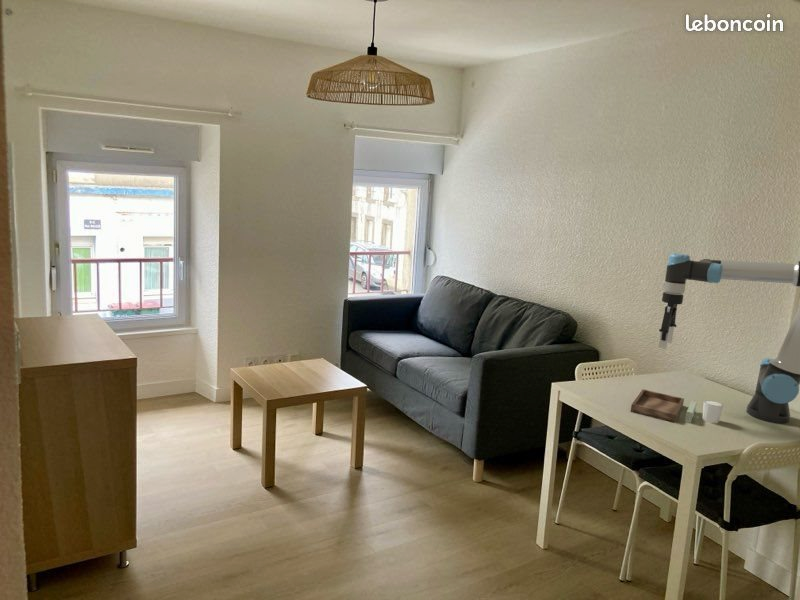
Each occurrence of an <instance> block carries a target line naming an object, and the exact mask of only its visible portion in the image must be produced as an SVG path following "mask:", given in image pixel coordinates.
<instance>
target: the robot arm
mask: <svg viewBox="0 0 800 600" xmlns="http://www.w3.org/2000/svg"><path fill="white" fill-rule="evenodd" d="M664 280H665V281H664V283H662V286H663V291H664V292H663V293H662V298H661V301H662V302H663V303H664V304H665V303H666V304H667V305H666V306H665V307H664V313H663V318H662V322H661V328H660V329H659V331H658V332H660V334H659V335H660V336H659V342H658V349H664V350H666V349H667V345H668V344H669V343H670V344H672V343H673V336H674V329H675V328H676V327H677V324H676V317H677V310H678V308H677V307H678V305H683V301H684V293H685V290H686V283H687V280H689V281H695V282H696V281H697V282H703V283H709V284H719V283H720V282H721V280H730V281H746V282H748V281H749V282H763V283H779V284H781V283H782V284H792V285H793V286H794V287H800V260H798V261H795V262H793V263H788V262H787V263H786V262H767V261H766V262H765V261H743V260H723V259H722V260H718V259H710V258H703V259H700V260H699V261H698V260H697V261H696V260H692V259H691V257H690V255H689V254H684V253H670V255H669V256H668V259H667V264H666V271H665V279H664ZM798 305H799V306H798V308H797V311H796V313H795V315H794V317H793V319H792V321H791V324H790V326H789V328H788V331H787V332H786V336H785V338H784V340H783V342H782V344H781V347H780V349H779V352H778V354H777V356H776V358H774V359H773V358H763V359H762V360H761V363H760V365H759V366H760V368H759V371H758V377H757V382H756V387H755V391H754V395H753V396H752V398H751V399H750V401H749V403H748V404H747V406H746V409H745V412H746V413H747V414H748V415H749V416H752V417H754V418H756V419H759V420H762V421H765V422H766V421H767V422H771V423H778V424H779V423H780V424H785V423H789V422H790V420H791V411H790V406H789V403H790V402H792V401H795V399H796V398H797V397H798V396H799V395H798V394H799V391H800V304H798Z"/></svg>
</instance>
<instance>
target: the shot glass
mask: <svg viewBox="0 0 800 600" xmlns="http://www.w3.org/2000/svg"><path fill="white" fill-rule="evenodd" d="M723 409H724V404H723V403H721V402H718V401H715V400H707V399H706V400H704V401H703V406H702V417H701V419H702V421H704V422H706V423H710V424H718V423H719V421H720V418H721V414H722V412H723Z"/></svg>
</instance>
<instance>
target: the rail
mask: <svg viewBox="0 0 800 600" xmlns="http://www.w3.org/2000/svg"><path fill="white" fill-rule="evenodd" d="M697 404H698V403H697V401H694V400H690V403H689V405H688V408H687V409H686V414H685V418H684V422H686V423H688V424H692V420H693V418H694V416H695V413H696V410H697Z"/></svg>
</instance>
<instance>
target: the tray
mask: <svg viewBox="0 0 800 600" xmlns="http://www.w3.org/2000/svg"><path fill="white" fill-rule="evenodd" d="M684 401H685V398H682V397H679V396H674V395H669V394H665V393H661V392H656V391H651V390H647V389H644V388H642V389H641V391H640V392H639V393H638V395H637V396H636V397H635V399H634V400H633V402H632V403H631V406H630V412H631V413H635V414H638V415H642V416H646V417H651V418H655V419H659V420H663V421H668V422H671V423H676V421H677V419H678V417H679V415H680V412H681V411H682V409H683V406H684Z"/></svg>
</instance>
